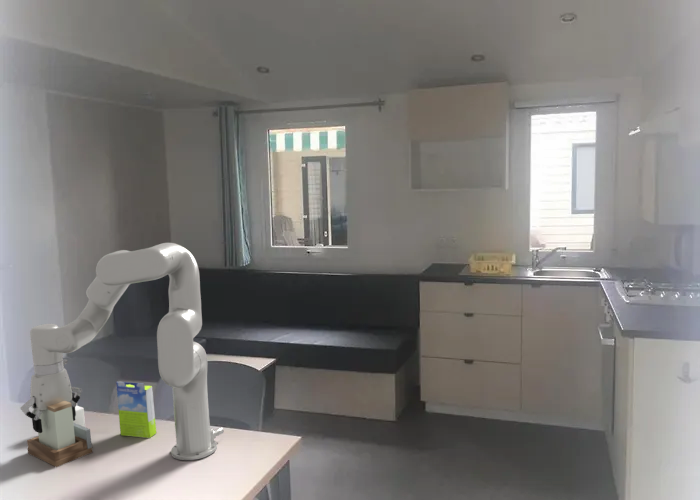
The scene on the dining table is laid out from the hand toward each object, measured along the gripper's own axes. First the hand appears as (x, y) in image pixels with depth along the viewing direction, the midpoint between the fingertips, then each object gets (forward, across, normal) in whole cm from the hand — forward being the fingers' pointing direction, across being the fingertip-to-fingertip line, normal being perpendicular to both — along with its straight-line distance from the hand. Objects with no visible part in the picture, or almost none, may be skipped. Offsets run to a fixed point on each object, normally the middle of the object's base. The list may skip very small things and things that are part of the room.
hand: (55, 425), depth 176 cm
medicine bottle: (+9, -10, -13) cm, 19 cm away
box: (+9, -20, +9) cm, 24 cm away
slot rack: (+8, 0, 0) cm, 8 cm away
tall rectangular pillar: (+7, 0, 0) cm, 7 cm away
